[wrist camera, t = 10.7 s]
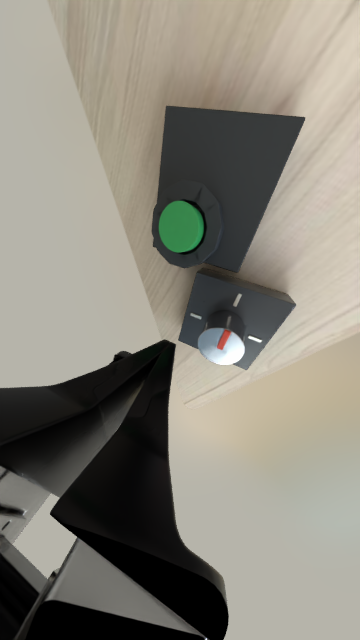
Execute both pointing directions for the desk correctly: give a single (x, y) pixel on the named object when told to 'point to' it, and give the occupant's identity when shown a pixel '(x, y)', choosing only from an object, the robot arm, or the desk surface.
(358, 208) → the desk surface
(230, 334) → the program dial
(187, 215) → the button
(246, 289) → the dial panel
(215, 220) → the button block
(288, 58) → the desk surface
